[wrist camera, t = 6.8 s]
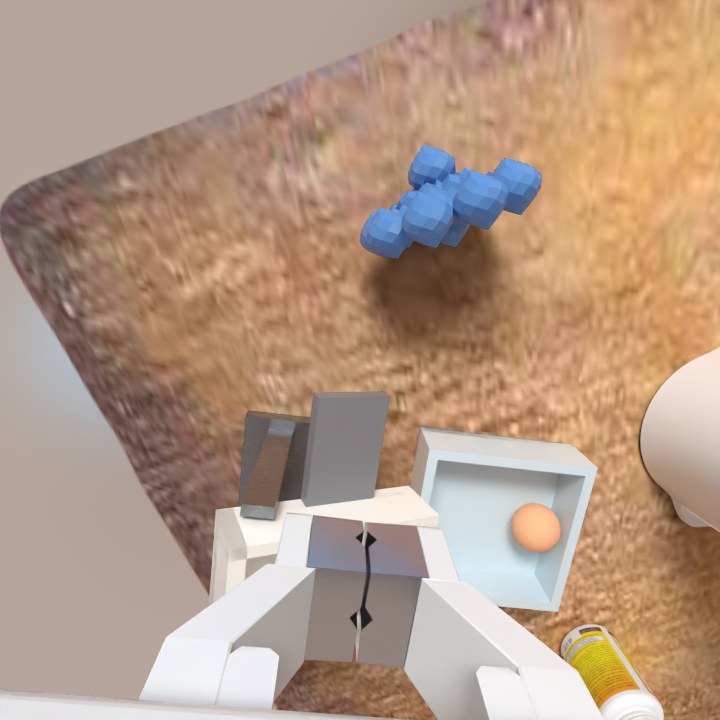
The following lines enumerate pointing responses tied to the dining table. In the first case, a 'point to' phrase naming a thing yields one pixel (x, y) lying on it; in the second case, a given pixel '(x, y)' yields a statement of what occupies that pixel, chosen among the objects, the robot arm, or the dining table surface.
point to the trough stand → (272, 462)
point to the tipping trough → (321, 488)
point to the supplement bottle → (609, 675)
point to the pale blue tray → (503, 509)
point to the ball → (535, 527)
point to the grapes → (448, 203)
